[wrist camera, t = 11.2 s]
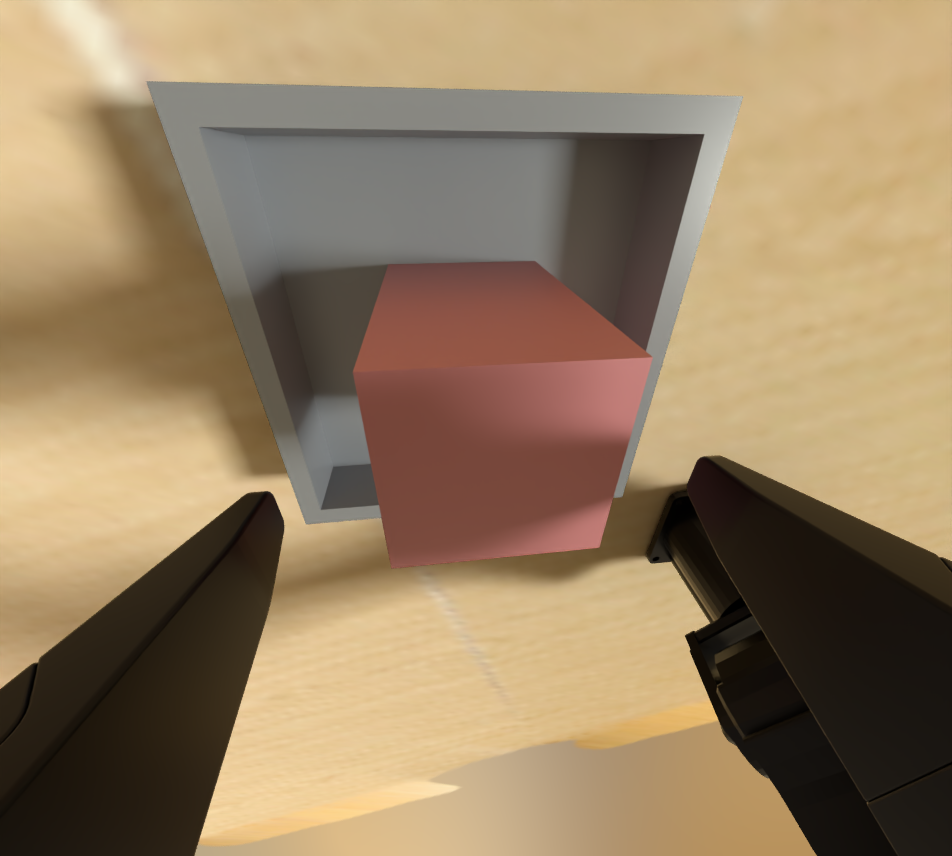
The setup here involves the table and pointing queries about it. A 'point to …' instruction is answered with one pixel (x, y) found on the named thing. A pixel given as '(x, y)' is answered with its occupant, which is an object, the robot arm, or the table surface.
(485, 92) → the bin
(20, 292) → the table surface
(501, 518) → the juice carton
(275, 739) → the table surface
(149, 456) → the table surface
